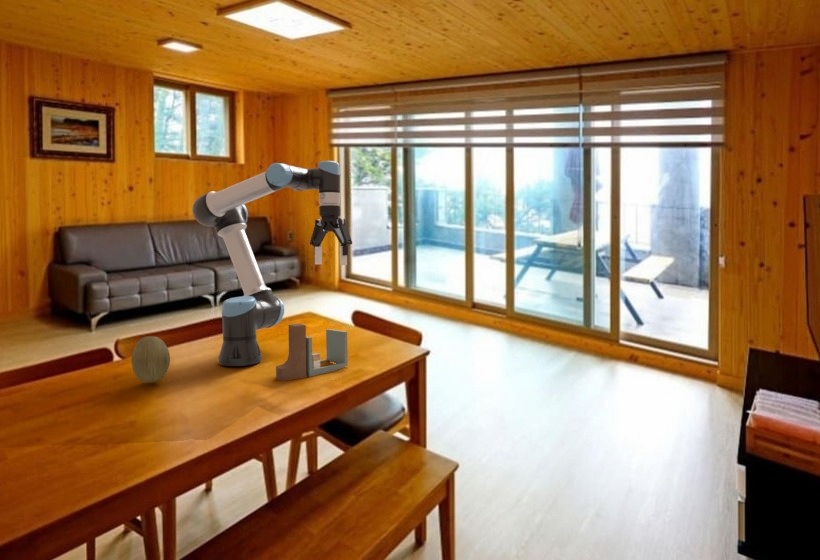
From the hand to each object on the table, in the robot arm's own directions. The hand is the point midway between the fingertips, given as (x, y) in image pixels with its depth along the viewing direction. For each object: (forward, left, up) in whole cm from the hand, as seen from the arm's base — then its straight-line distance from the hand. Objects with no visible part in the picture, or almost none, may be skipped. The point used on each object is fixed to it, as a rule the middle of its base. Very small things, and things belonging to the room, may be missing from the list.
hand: (330, 264), depth 198 cm
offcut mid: (+2, -12, -35) cm, 37 cm away
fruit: (-28, -53, -37) cm, 70 cm away
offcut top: (+2, -12, -32) cm, 34 cm away
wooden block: (+3, -21, -37) cm, 43 cm away
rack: (+2, -7, -37) cm, 37 cm away
